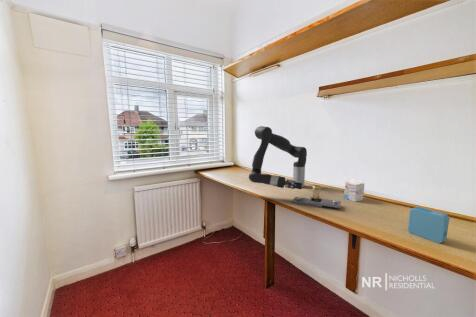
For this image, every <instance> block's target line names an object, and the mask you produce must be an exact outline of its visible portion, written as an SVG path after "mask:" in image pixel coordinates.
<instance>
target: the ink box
mask: <svg viewBox="0 0 476 317" xmlns="http://www.w3.org/2000/svg"><path fill="white" fill-rule="evenodd" d="M344 183H345V184H344V196H343V199H346V200H349V201H351V202H359V201H363V200H364V194H365V192H364V191H365V183H364V182H363V181H362V180H358V179H355V178H351V179H350V180H349V181H345V182H344Z"/></svg>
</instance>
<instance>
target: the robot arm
mask: <svg viewBox="0 0 476 317" xmlns="http://www.w3.org/2000/svg"><path fill="white" fill-rule="evenodd" d="M254 135H255V137H256V138H257V139H258V140H261V142H260V145H259V148H258V149H257V150H256V152H255V154H254V156H253V159H252V164H251V166H252V169H251V172H250V173H249V175H248V180H249V181H250V182H251V183H254V184H264V185H269V186H273V187H277V188H281V189H284V187H285V188H287V189H291V190H292V189H293V190H294V189H297V190H302V188H304V187H305V181H306V180H305V177H306V164H307V153H308V151H307V148H306V147H304V146H296V145H294V144H291V142H290V140H289V139H287V138H285V137H284V136H282V135H279V134H275V133H273V130H272V128H271V127H269V126H263V125H262V126H258V127H256V128H255V130H254ZM269 145H272V146H274V147H275V148H276V149H279V150H281V151H283V152H285V153H287V154H289V155H290V156H292V157H293V158H298V159H297V161H294V162H293V167H292V168H293V169H292V170H293V171H292V172H293V173H292V179H286V177H285V176H280V175H275V174H274V175H273V174H268V173H262V167H263V164H264V163H263V162H264V159H265V154H266V151H267V150H268V148H269Z"/></svg>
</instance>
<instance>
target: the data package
mask: <svg viewBox="0 0 476 317" xmlns="http://www.w3.org/2000/svg"><path fill="white" fill-rule="evenodd" d="M449 223H450V216H449V214H446V213H444V212H440V211H437V210H433V209H428V208H424V207H420V206H415V207H413V208H411V209H410V210H409V216H408V225H407V226H408V227H407V231H408V233H410V234H412V235H415V236H417V237H420V238H423V239H426V240H428V241H430V242H431V241H432V242H434V243H436V244H442V243H443V242H445V241H446V240H447V235H448V229H449Z"/></svg>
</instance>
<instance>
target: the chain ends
mask: <svg viewBox="0 0 476 317" xmlns="http://www.w3.org/2000/svg"><path fill="white" fill-rule="evenodd" d="M291 202H292V203H293V204H297V205H303V206H308V205H309V207H315V208H323V207H329V208H336V209H341V207H342V206H341V204H342V201H341V200H337V199H326V198H321V197H320V198H319V202H317V201H313V196H310V198H308V197H307V198H306V197H300V196H295V197H294V198H293V199H292V201H291Z"/></svg>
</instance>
